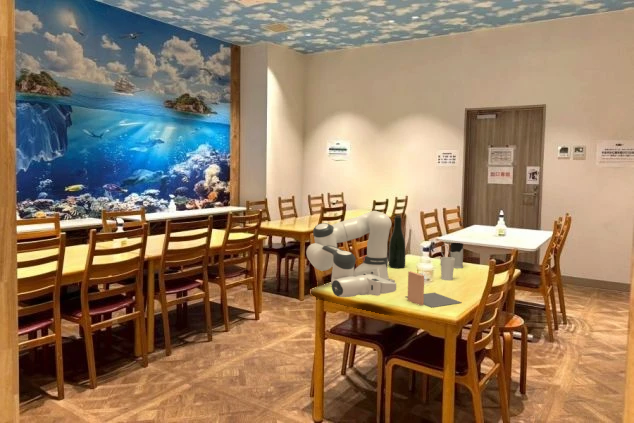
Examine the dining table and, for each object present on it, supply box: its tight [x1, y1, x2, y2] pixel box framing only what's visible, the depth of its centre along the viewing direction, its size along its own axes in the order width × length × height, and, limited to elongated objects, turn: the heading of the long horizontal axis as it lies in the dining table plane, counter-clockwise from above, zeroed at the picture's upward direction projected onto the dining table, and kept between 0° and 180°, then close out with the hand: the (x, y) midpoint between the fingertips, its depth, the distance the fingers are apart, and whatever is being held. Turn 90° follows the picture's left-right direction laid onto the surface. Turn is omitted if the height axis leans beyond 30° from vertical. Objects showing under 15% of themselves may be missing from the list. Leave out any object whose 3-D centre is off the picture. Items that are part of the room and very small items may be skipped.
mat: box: [404, 292, 462, 308], centre depth 242 cm, size 18×20×1 cm
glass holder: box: [440, 242, 464, 269], centre depth 320 cm, size 9×14×15 cm, turn 69°
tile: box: [407, 270, 425, 306], centre depth 237 cm, size 2×10×14 cm, turn 26°
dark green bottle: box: [388, 214, 406, 269], centre depth 317 cm, size 10×10×33 cm
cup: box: [440, 256, 455, 281], centre depth 286 cm, size 8×8×12 cm
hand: (393, 281), depth 230 cm, fingers closed
